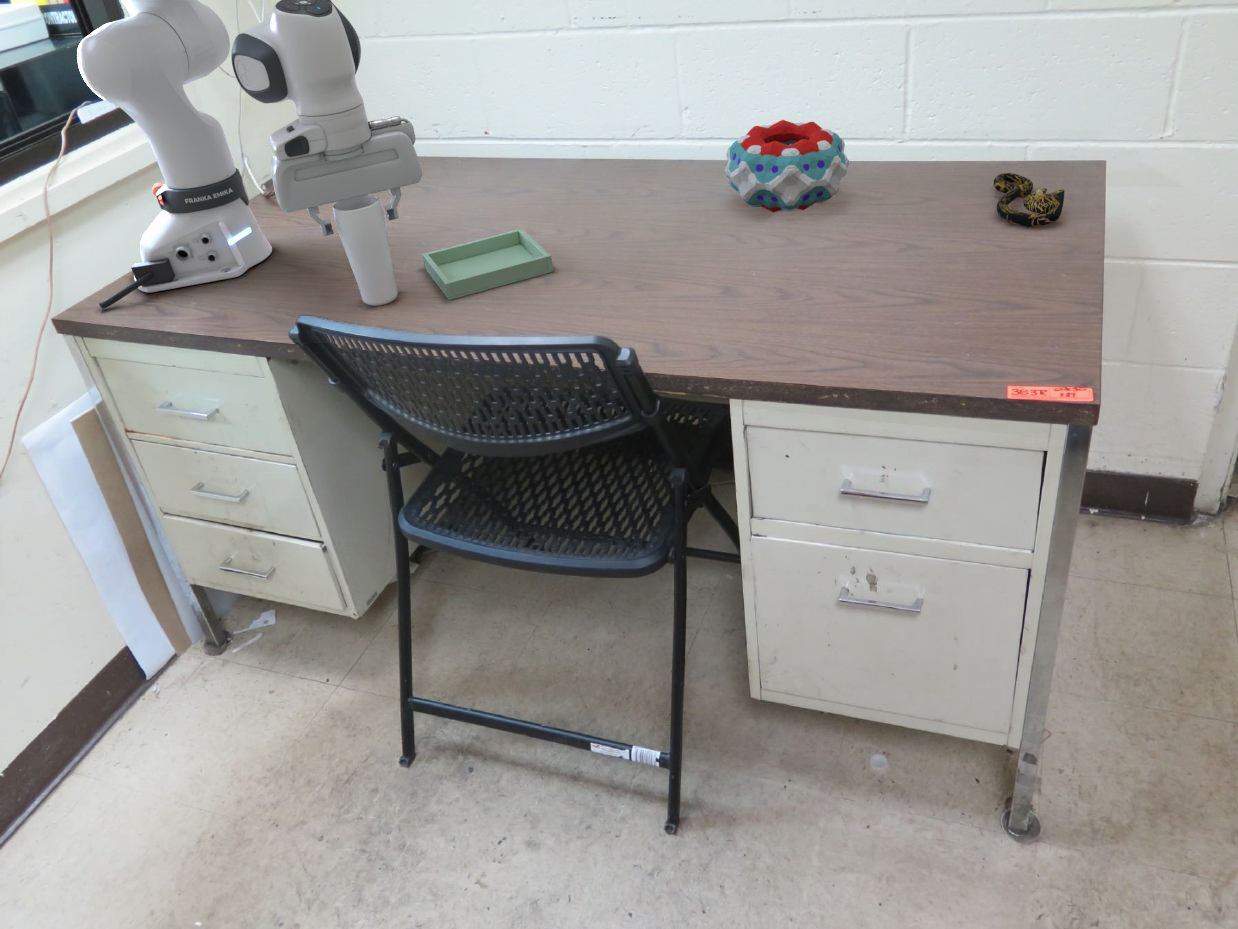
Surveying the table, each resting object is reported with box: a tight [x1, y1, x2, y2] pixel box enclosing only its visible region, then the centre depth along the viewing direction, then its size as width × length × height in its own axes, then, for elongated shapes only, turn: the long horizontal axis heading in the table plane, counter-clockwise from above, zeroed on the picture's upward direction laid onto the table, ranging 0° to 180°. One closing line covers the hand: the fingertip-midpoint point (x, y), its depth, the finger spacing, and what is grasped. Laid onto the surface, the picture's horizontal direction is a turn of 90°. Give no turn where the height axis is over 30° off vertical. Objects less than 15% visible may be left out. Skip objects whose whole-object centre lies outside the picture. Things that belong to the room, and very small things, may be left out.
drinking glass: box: [331, 194, 399, 307], centre depth 143 cm, size 7×7×15 cm
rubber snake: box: [993, 172, 1065, 228], centre depth 150 cm, size 18×5×10 cm
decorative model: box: [724, 119, 850, 213], centre depth 160 cm, size 19×14×20 cm
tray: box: [421, 228, 554, 301], centre depth 151 cm, size 17×14×3 cm
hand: (360, 226), depth 141 cm, fingers open, 8 cm apart
